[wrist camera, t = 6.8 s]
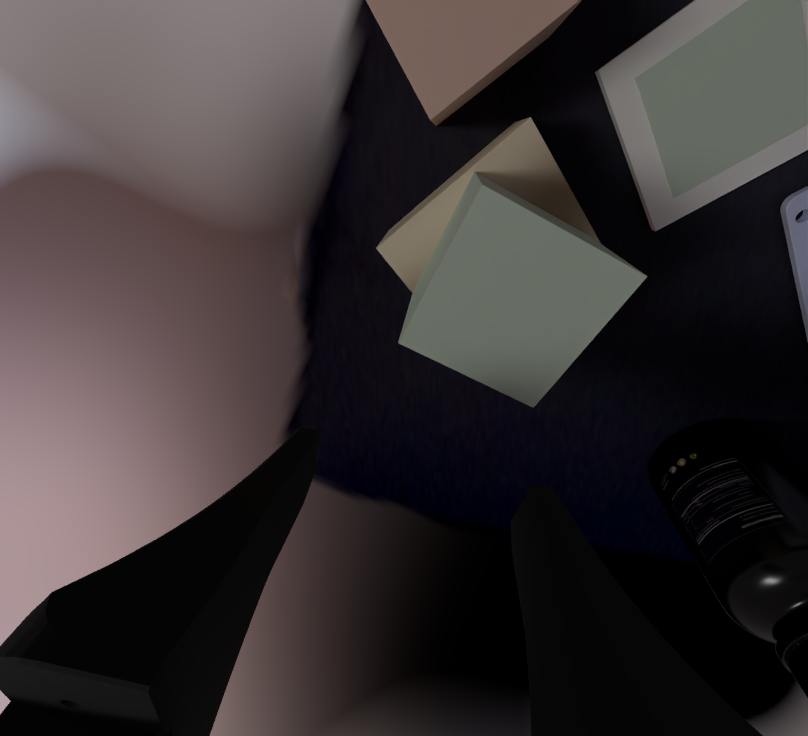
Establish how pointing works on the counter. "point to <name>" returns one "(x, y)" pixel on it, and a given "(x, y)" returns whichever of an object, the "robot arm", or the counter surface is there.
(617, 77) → the card
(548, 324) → the sage block
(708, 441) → the supplement bottle
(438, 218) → the maple block
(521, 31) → the terracotta block
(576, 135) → the counter surface
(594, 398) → the counter surface
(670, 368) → the counter surface
